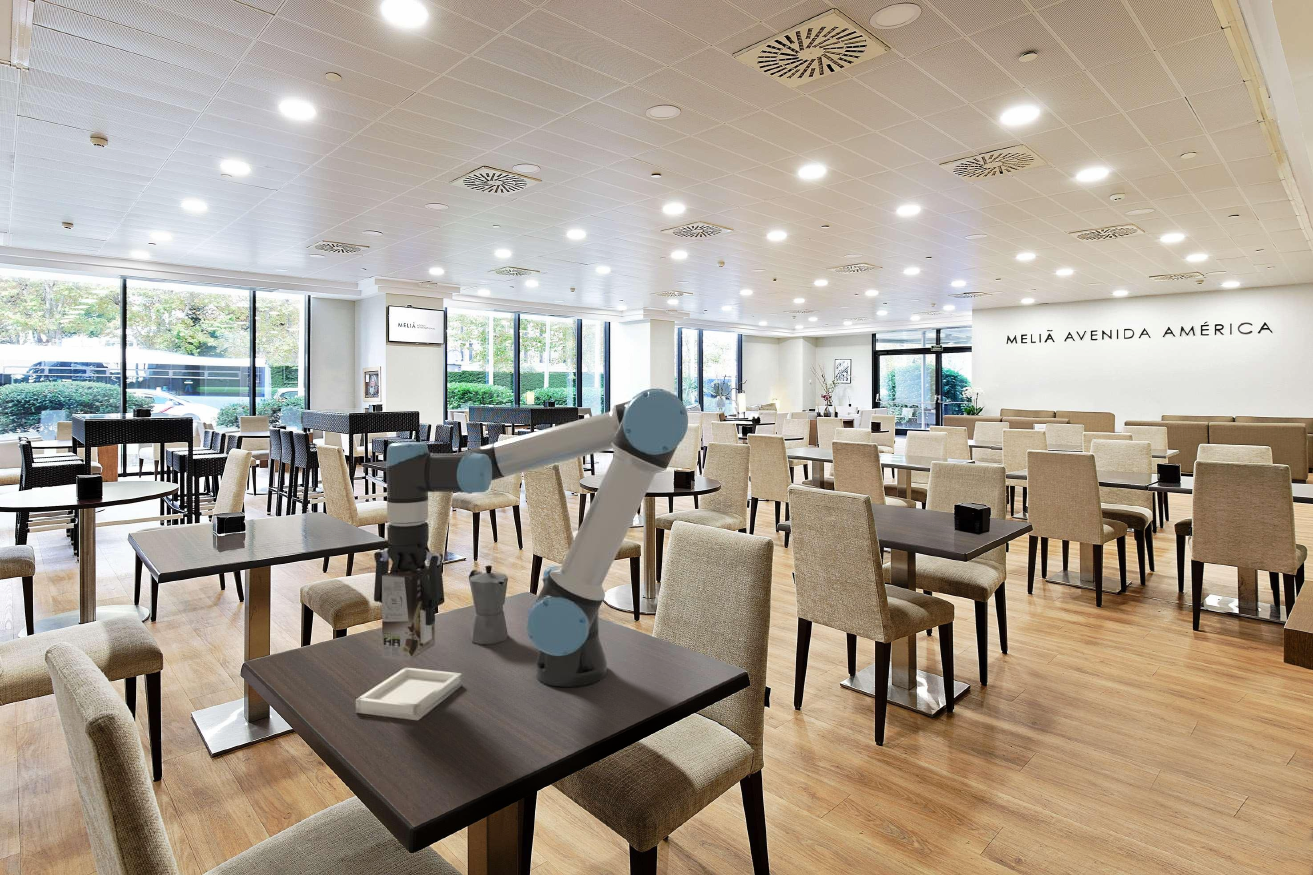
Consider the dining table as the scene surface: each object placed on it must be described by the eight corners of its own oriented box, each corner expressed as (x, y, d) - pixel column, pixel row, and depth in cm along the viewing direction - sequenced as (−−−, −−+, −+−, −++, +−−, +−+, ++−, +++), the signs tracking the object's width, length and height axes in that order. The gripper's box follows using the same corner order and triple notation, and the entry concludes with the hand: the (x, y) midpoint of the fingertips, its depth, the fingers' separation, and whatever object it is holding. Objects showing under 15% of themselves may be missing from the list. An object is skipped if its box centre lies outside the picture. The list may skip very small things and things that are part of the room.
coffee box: (412, 661, 133) (410, 577, 132) (381, 658, 134) (379, 575, 133) (436, 644, 141) (435, 565, 140) (407, 642, 143) (406, 563, 142)
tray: (461, 685, 144) (461, 673, 144) (417, 720, 129) (417, 707, 129) (405, 679, 148) (405, 667, 147) (355, 712, 132) (355, 699, 132)
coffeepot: (520, 640, 171) (520, 567, 170) (486, 650, 164) (485, 574, 163) (487, 625, 182) (486, 556, 181) (454, 633, 175) (452, 562, 174)
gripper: (463, 521, 137) (464, 637, 139) (375, 516, 142) (377, 628, 143) (443, 528, 130) (444, 650, 132) (351, 523, 135) (353, 641, 136)
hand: (409, 639), depth 137 cm, fingers closed on coffee box, 6 cm apart
